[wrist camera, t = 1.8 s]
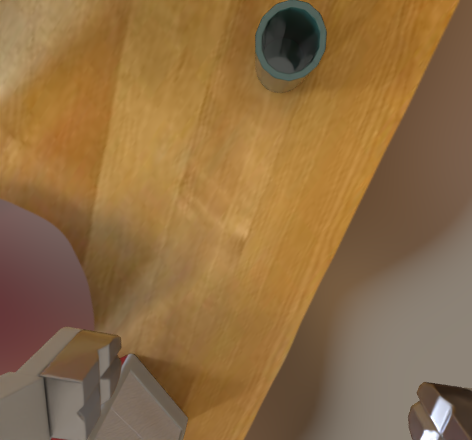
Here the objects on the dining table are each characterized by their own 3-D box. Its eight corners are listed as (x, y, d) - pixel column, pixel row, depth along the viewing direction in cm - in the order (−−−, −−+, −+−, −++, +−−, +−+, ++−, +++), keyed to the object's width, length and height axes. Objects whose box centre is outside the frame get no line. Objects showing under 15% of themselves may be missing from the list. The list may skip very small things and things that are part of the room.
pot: (244, 62, 31) (240, 37, 23) (287, 21, 30) (299, -19, 22) (276, 104, 32) (282, 95, 24) (318, 67, 31) (341, 45, 23)
